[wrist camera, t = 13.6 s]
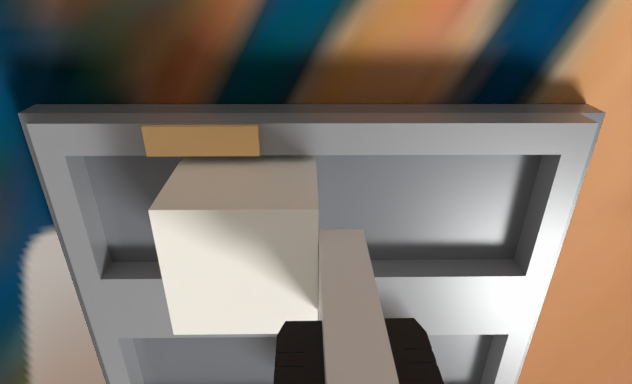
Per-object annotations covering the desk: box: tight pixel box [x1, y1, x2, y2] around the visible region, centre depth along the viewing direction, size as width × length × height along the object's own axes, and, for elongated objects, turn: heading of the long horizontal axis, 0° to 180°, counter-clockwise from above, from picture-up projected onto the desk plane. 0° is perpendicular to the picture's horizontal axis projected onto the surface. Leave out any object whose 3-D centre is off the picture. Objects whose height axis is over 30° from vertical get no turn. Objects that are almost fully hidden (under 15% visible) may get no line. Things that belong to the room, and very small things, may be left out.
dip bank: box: [18, 104, 605, 384], centre depth 20 cm, size 22×17×3 cm
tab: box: [148, 155, 319, 335], centre depth 16 cm, size 5×5×4 cm
